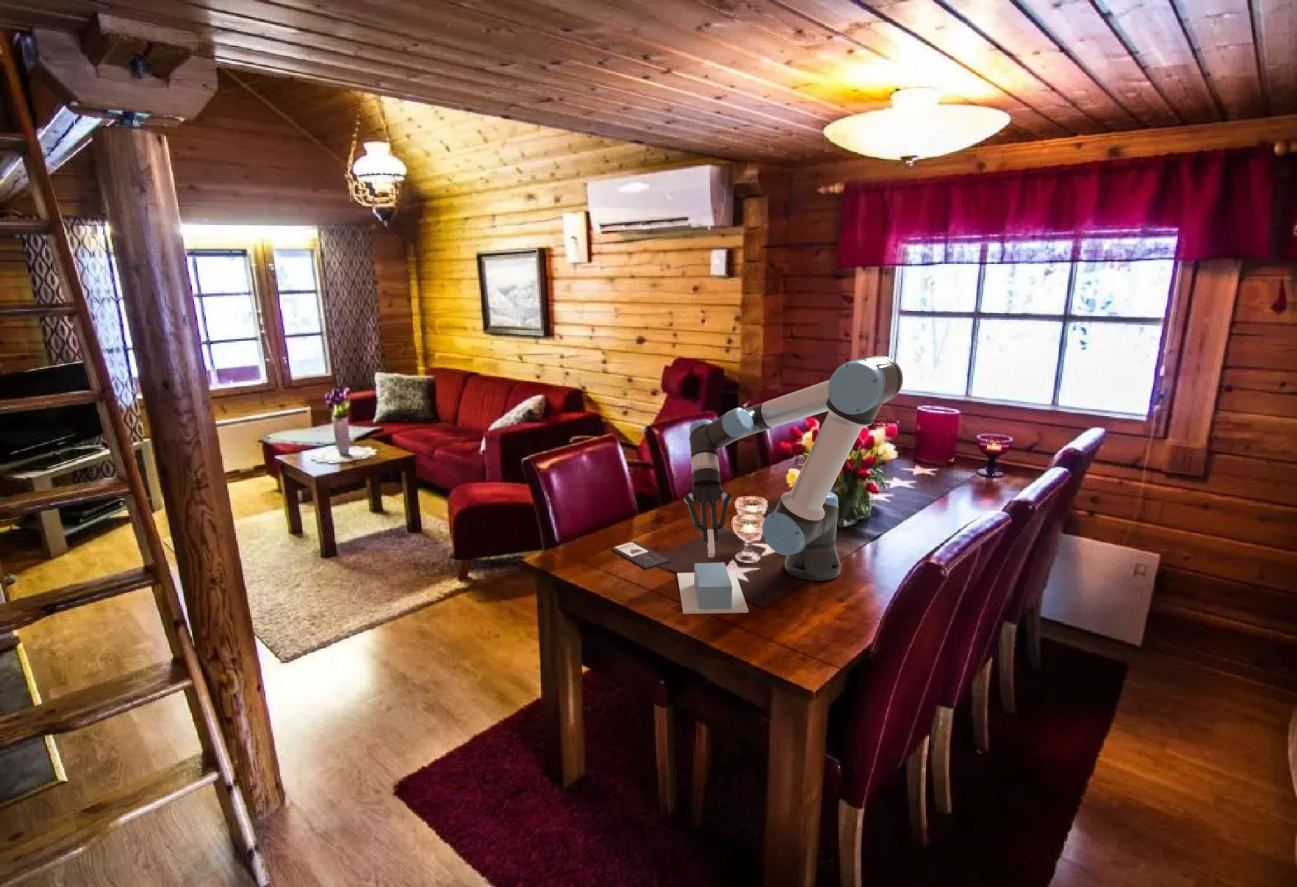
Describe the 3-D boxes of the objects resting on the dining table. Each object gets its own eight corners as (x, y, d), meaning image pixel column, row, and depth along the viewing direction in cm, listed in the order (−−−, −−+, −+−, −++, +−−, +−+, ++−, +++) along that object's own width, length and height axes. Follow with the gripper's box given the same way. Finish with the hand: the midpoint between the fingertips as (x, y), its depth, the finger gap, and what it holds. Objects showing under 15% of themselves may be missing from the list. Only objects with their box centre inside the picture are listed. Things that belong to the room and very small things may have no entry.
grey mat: (735, 574, 188) (735, 572, 187) (748, 612, 166) (748, 610, 166) (677, 575, 187) (677, 573, 187) (683, 613, 166) (683, 611, 166)
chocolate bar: (646, 568, 191) (610, 548, 205) (646, 571, 191) (610, 551, 205) (671, 560, 196) (634, 541, 210) (671, 563, 196) (634, 544, 210)
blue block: (724, 562, 179) (732, 586, 165) (724, 583, 180) (731, 608, 167) (694, 563, 179) (699, 587, 165) (694, 584, 180) (699, 609, 167)
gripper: (728, 479, 187) (735, 560, 175) (681, 480, 187) (685, 561, 175) (731, 466, 181) (739, 549, 169) (682, 466, 181) (686, 549, 168)
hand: (711, 555), depth 172 cm, fingers closed
